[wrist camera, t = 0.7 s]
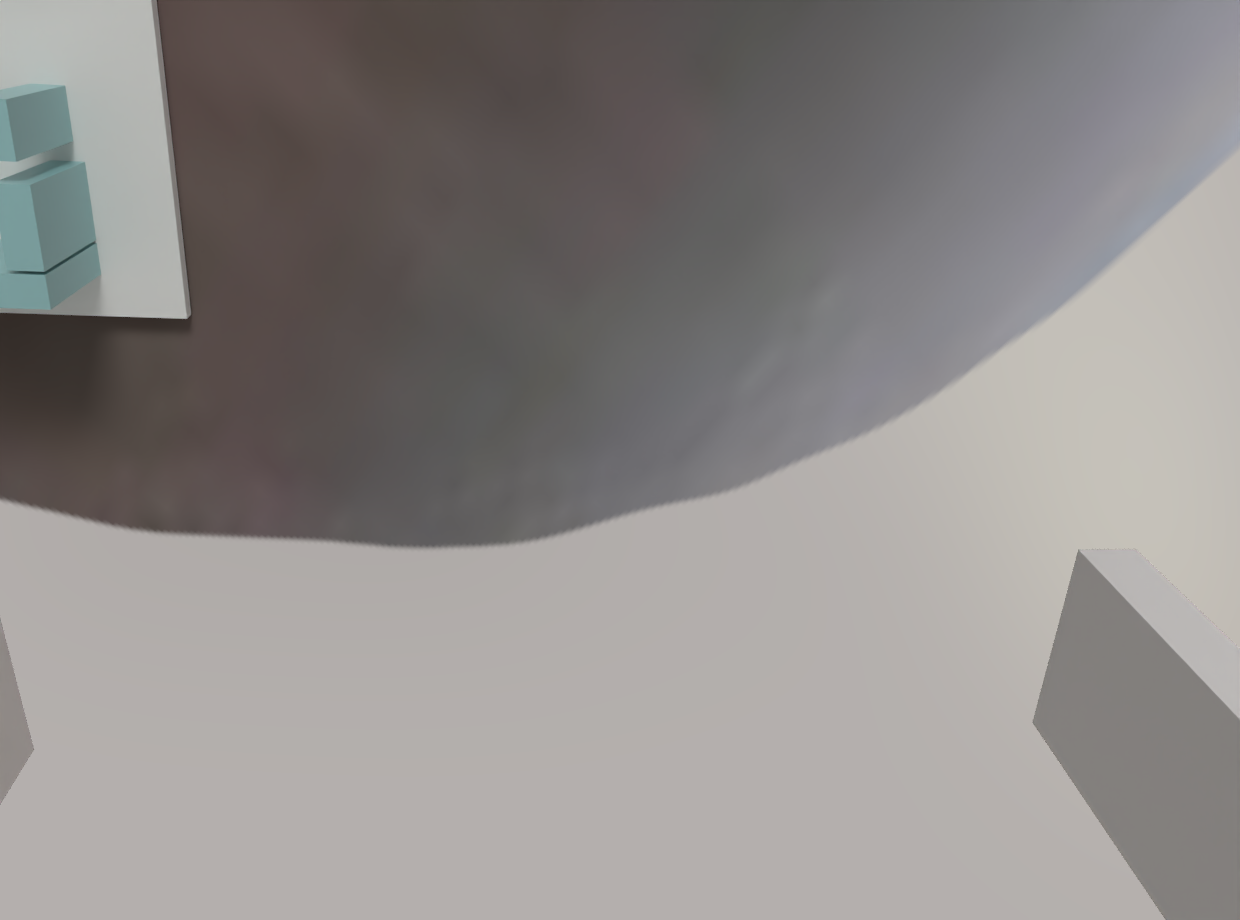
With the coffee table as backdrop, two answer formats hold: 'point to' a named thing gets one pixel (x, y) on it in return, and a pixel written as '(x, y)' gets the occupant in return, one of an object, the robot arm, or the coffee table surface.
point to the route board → (87, 163)
